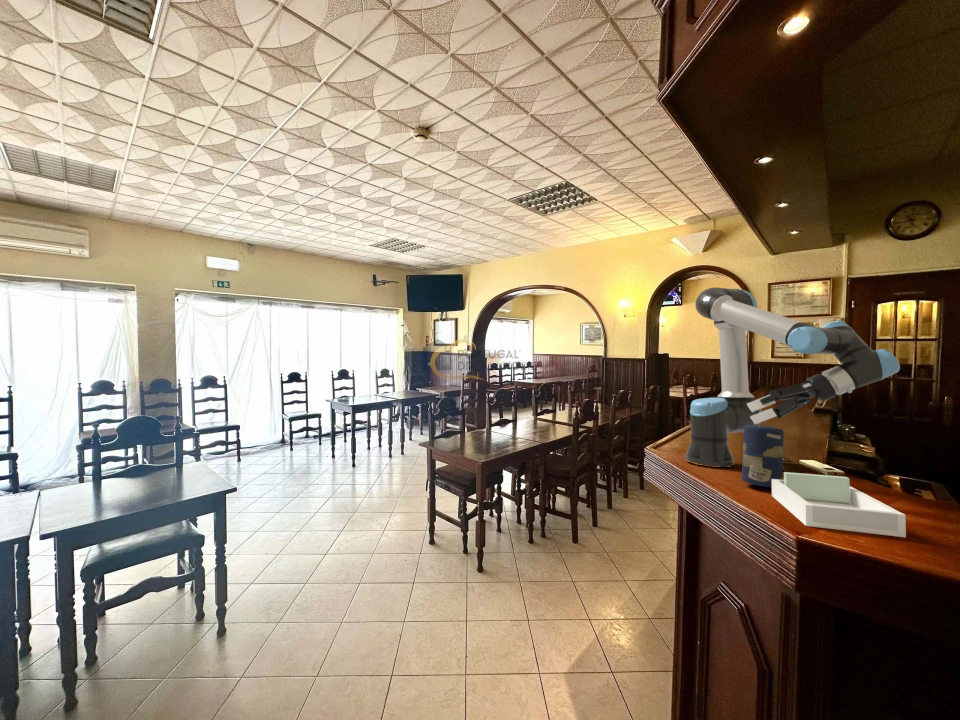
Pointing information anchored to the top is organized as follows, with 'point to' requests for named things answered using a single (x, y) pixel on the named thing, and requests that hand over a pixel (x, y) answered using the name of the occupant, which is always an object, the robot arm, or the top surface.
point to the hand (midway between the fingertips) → (750, 414)
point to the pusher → (819, 486)
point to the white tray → (843, 512)
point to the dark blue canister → (762, 454)
